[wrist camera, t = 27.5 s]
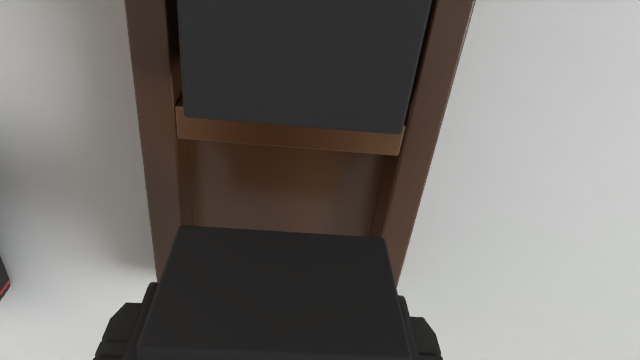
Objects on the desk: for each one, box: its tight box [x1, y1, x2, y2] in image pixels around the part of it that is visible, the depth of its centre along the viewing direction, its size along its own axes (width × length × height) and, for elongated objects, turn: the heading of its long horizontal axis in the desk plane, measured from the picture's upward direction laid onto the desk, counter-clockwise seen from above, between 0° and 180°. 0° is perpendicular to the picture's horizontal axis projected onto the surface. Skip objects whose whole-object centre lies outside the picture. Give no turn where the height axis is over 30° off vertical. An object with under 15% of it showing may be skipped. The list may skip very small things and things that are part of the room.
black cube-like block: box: [136, 225, 412, 360], centre depth 11 cm, size 5×5×4 cm
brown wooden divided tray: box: [124, 0, 476, 288], centre depth 14 cm, size 8×16×2 cm, turn 174°
